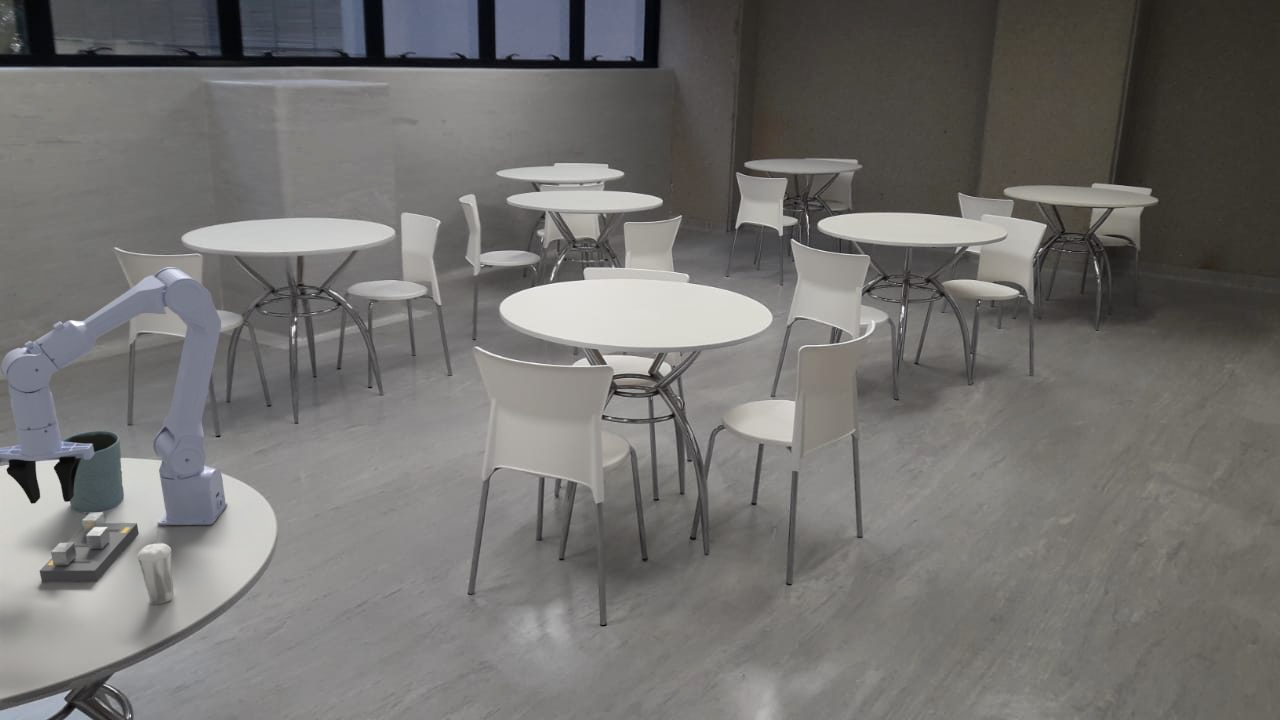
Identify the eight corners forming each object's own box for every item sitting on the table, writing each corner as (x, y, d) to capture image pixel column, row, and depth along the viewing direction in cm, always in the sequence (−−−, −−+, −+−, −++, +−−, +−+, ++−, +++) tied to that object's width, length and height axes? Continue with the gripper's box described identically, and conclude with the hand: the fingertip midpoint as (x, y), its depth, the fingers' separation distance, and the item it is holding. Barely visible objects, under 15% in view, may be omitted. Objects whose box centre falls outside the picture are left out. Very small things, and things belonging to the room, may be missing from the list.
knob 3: (110, 539, 164) (107, 526, 163) (102, 548, 161) (99, 535, 160) (96, 539, 164) (94, 527, 163) (88, 548, 161) (85, 535, 160)
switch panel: (138, 533, 170) (136, 522, 170) (97, 581, 156) (94, 570, 156) (88, 533, 170) (86, 522, 169) (41, 581, 156) (39, 570, 155)
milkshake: (183, 586, 155) (174, 530, 152) (173, 605, 150) (164, 548, 147) (152, 588, 155) (142, 532, 151) (141, 608, 150) (131, 550, 146)
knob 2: (105, 524, 168) (103, 512, 168) (98, 533, 166) (95, 520, 165) (92, 524, 168) (90, 512, 168) (84, 533, 166) (82, 520, 165)
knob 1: (76, 555, 159) (73, 542, 158) (67, 565, 156) (65, 551, 156) (62, 555, 159) (59, 542, 158) (53, 565, 156) (50, 551, 155)
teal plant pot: (87, 488, 186) (76, 429, 182) (140, 489, 185) (130, 431, 181) (55, 514, 176) (42, 453, 172) (111, 516, 176) (100, 455, 172)
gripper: (94, 411, 162) (108, 486, 166) (-2, 415, 160) (14, 490, 164) (78, 428, 155) (93, 506, 160) (-23, 433, 153) (-5, 511, 158)
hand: (52, 499), depth 162 cm, fingers open, 4 cm apart
